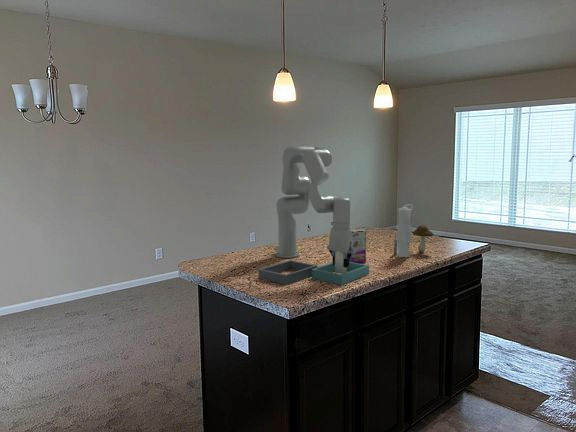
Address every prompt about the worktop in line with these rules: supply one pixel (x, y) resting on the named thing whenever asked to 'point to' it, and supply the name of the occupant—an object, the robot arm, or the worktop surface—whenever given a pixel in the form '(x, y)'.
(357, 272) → the bin
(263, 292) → the worktop surface
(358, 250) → the candy bar box
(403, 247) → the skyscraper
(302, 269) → the bin
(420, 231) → the mushroom
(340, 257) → the canister
